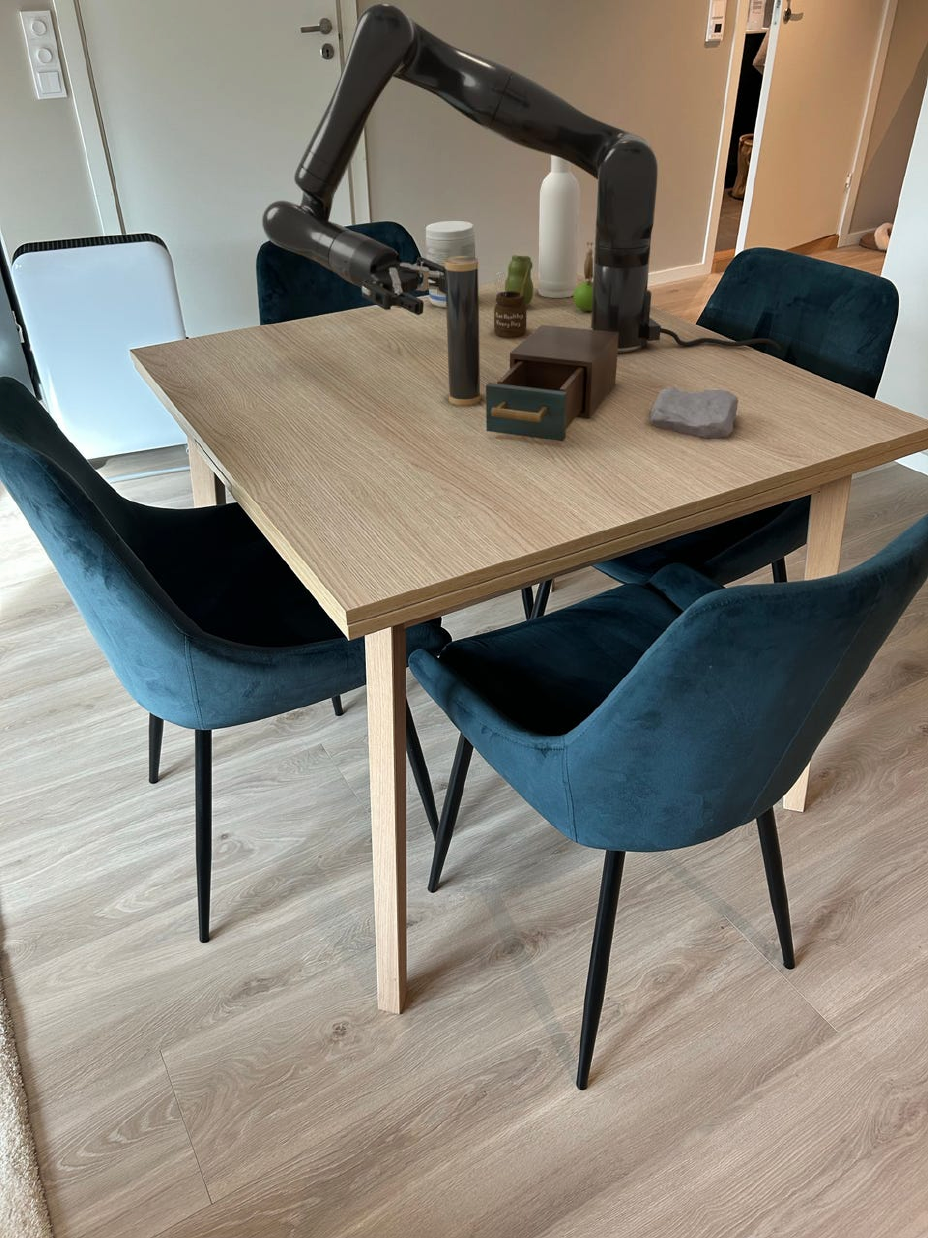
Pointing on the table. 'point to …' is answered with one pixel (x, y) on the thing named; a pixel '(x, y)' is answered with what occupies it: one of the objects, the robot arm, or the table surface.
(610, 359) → the cabinet
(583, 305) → the snail figurine
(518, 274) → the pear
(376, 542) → the table surface
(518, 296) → the utensil holder
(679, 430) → the stone block
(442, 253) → the supplement tub
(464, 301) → the black cylinder
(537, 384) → the drawer
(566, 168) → the bottle
